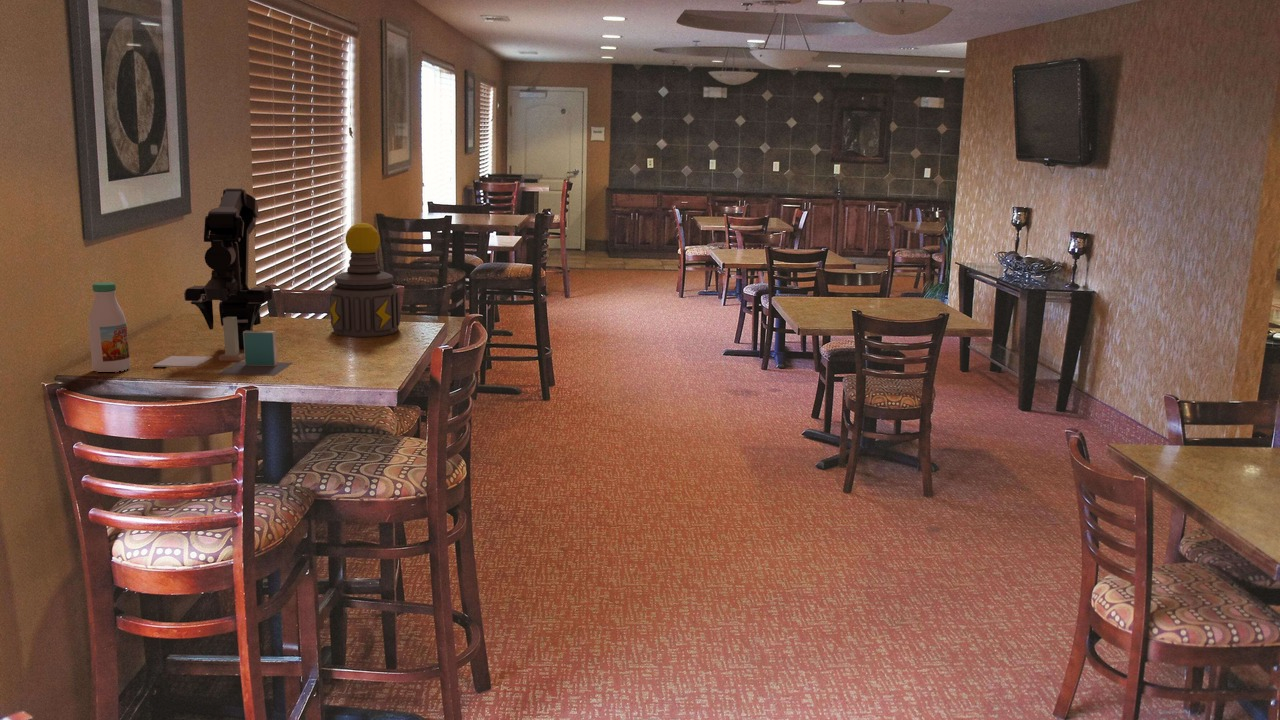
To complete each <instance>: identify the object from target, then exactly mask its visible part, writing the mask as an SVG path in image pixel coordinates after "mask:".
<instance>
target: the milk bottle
mask: <svg viewBox="0 0 1280 720" xmlns="http://www.w3.org/2000/svg"><path fill="white" fill-rule="evenodd" d="M116 290H117V289H116V283H115V282H110V281H109V282H108V281H107V282H106V281H105V282H104V281H103V282H102V281H101V282H95V283H93V284H92V292H93V295H94V300H93V304H92V307H91V308H90V312H89V315H88V335H89V346H90V347H89V348H90V354H91V355H90V356H91V366H92V367H91V368H92V370H93V372H94V371H98V372H115V373H120V372H119V371H121V372H125V371H128V370H130V368H131V359H130V346H129V335H128V327H127V319H126V316H125V313H124V311H123V308H122V306H120V304H119V302H118V300H117V297H116V293H117V291H116ZM127 369H128V370H127ZM124 370H125V371H124ZM98 372H97V373H98Z"/></svg>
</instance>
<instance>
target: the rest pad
mask: <svg viewBox="0 0 1280 720" xmlns="http://www.w3.org/2000/svg"><path fill="white" fill-rule="evenodd" d="M213 358H214V356H198V355H197V356H196V355H194V356H191V355H189V356H188V355H187V356H186V355H171V356H168V357H166V358H164V359H162V360H161V361H158V362H156V363H154V364H153V365H152V368H153V367H168V368H169V367H193V368H194V367H199V366H200V365H202V364H204V363H205V362H207V361H210V360H211V359H213Z"/></svg>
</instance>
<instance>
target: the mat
mask: <svg viewBox="0 0 1280 720" xmlns="http://www.w3.org/2000/svg"><path fill="white" fill-rule="evenodd" d="M292 364H293V362H287V361H286V362H285V361H284V362H282V361H281V362H280V361H279V362H278V361H277V365H276V366H253V365H245V361H236V362H235V363H234V364H231V365H229V366H228V367H227V368H225V369H223V370H222V371H220V372H218V373H217V375H219V376H220V375H224V376H225V375H227V376H266V377H267V376H268V377H269V376H271V377H272V376H276V375H278V374H279V373H281V372H282V371H284V370H285V369H286V368H288V367H289V366H291V365H292Z"/></svg>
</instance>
